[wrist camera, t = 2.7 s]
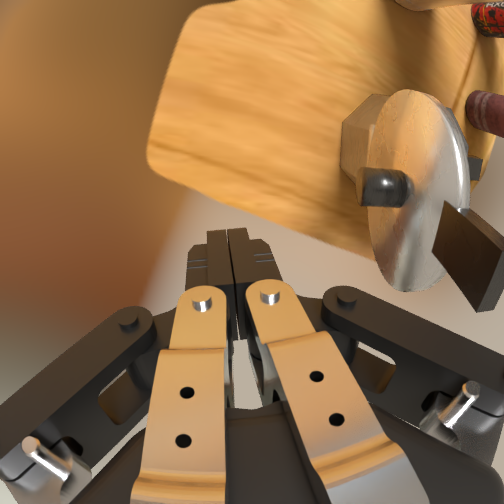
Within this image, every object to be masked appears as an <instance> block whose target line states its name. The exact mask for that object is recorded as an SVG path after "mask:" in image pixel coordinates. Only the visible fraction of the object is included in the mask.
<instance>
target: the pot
mask: <svg viewBox="0 0 504 504" xmlns="http://www.w3.org/2000/svg"><path fill="white" fill-rule="evenodd" d="M390 97H391V96H386V95H378V94H372V95H371V96H370V97H369V98H367V99H366V100H365V101H364V102H363V103H362V104H361V105H360V106H359V107H358V108H357V109H356V110H355V111H354V112H353V113H352V114H351V115H349V116H348V117H347V118H346V119H345V120H344V121H343V122H342V141H341V158H340V167H341V169H342V170H343V171H344V172H345V173H346V174H347V176H348V177H349V178H350V179H351V180H352V182H353V183H354V184H355V185H356V178H357V173H358V170H359V168H360V167H366V165H367V154H368V142H369V127H370V124H373V125H376V122H377V119H378V116H379V114H380V112H381V110H382V108H383V106H384V104H385V103H386V102H387V100H388V99H389V98H390ZM445 108H446V109H447V110H448V111H449V113H450V114H451V116H452V118H453V119H454V121H455V123H456V125H457V127H458V129H459V132H460V134H461V137H462V140H463V143H464V146H465V150H466V154H467V160H468V165H469V174H470V180H477V181H479V177H480V172H481V166H482V160H483V159H480V158H478V157H476V156H471V155H468V148H469V146H468V144H467V142H466V140H465V137H464V135H463V133H462V131H461V129H460V126H459V124H458V122H457V120H456V118H455V116H454V114H453V112H452V110H451V109H450V108H447V107H445Z"/></svg>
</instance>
